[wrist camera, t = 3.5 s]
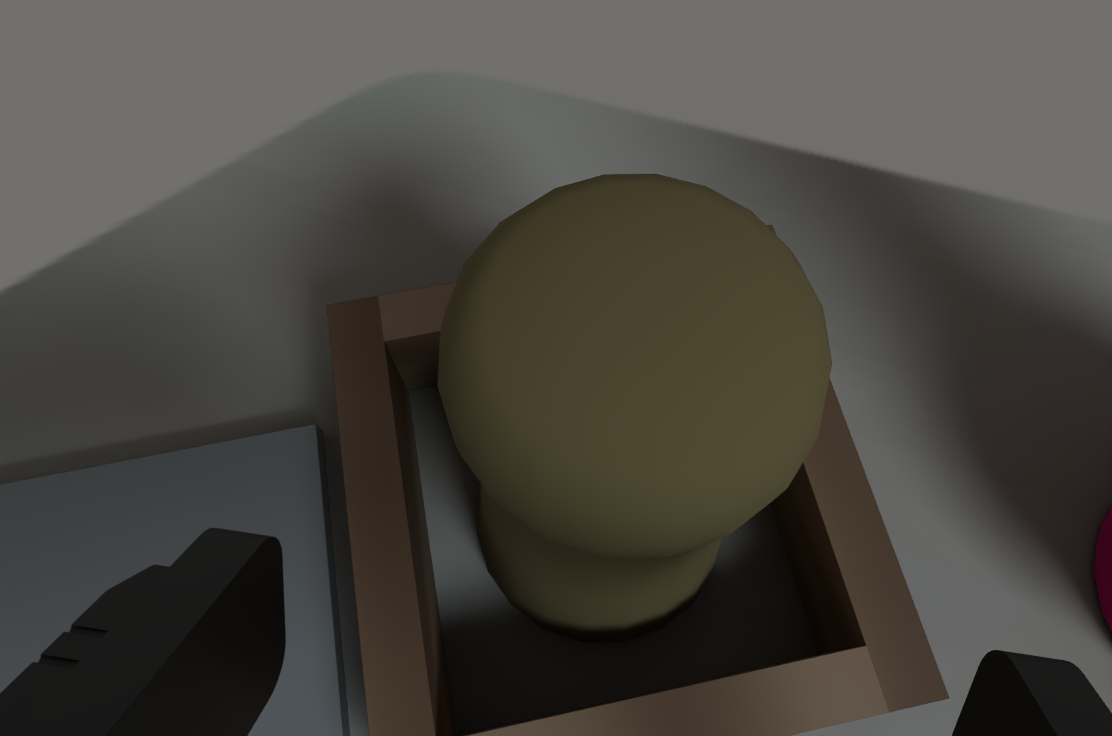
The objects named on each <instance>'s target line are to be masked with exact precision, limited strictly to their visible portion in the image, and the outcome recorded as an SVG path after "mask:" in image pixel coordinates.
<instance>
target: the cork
mask: <svg viewBox="0 0 1112 736" xmlns="http://www.w3.org/2000/svg"><path fill="white" fill-rule="evenodd" d="M831 366H832V360H831V353H830V347H829V341H828V335H827V329H826V323H825V317H824V311H823V307H822V305H821V303H820V301H819V300H818V298H817V296H816V294H815V292H814V290H813V288H812V286H811V285H810V283H809V281H808V279H807V277H806V275H805V273H804V271H803V270H802V268H801V266H800V264H799V262H798V260H797V258H796V257H795V256H794V254H793V253H792V252H791V250H790V249H789V248H788V247H787V246H786V245H785V244H784V243H783V242H782V241H781V240H780V239H779V238H778V237H777V236H776V235H775V234H774V233H773V232H772V231H771V230H770V229H769V228H768V227H767V226H766V225H765V224H764V223H763V222H762V221H761V220H760V219H759V218H758V217H757V216H756V215H755V214H754V213H753V212H752V211H750V210H748V209H746V208H744V207H743V206H741V205H739V204H737V203H735V202H734V201H732V200H730V199H728V198H726V197H724V196H723V195H721V194H719V193H717V192H715V191H714V190H712V189H710V188H708V187H706V186H702V185H698V184H694V183H690V182H686V181H682V180H678V179H674V178H670V177H666V176H662V175H658V174H612V175H601V176H597V177H594V178H590V179H587V180H583V181H580V182H576V183H573V184H569V185H565V186H562V187H558V188H555V189H553V190H552V191H550V192H548V193H547V194H545V195H544V196H542V197H540V198H539V199H537V200H536V201H534V202H532V203H531V204H529V205H527V206H526V207H524V208H523V209H521V210H519V211H518V212H516V213H514V214H513V215H511V216H510V217H508V218H507V219H505V220H503V221H502V222H500V223H499V225H498V226H497V227H496V228H495V229H494V230H493V231H492V233H491V234H490V235H489V236H488V237H487V238H486V239H485V241H484V242H483V243H482V244H481V245H480V246H479V247H478V249H477V250H476V251H475V252H474V253H473V254H472V255H471V257H470V258H469V259H468V260H467V261H466V262H465V264H464V267H463V269H462V271H461V274H460V276H459V279H458V281H457V283H456V286H455V288H454V291H453V293H452V295H451V298H450V300H449V303H448V305H447V307H446V310H445V312H444V317H443V321H442V325H441V330H440V348H439V367H438V385H437V386H438V389H439V392H440V396H441V399H442V402H443V406H444V409H445V412H446V416H447V419H448V422H449V426H450V429H451V433H452V436H453V439H454V442H455V444H456V447H457V449H458V451H459V453H460V455H461V456H462V458H463V459H464V460H465V462H466V463H467V465H468V466H469V467H470V469H471V470H472V472H473V473H474V474H475V476H476V477H477V479H478V480H479V481H480V488H479V496H478V528H477V535H478V538H479V541H480V545H481V548H482V551H483V555H484V558H485V562H486V565H487V568H488V572H489V573H490V575H491V576H492V577H493V579H494V580H495V582H496V583H497V585H498V586H499V588H500V589H501V590H502V592H503V593H504V595H505V596H506V598H507V599H508V601H509V602H510V603H511V605H513V606H514V607H515V608H517V609H518V610H519V611H521V612H522V613H523V614H525V615H526V616H527V617H529V618H530V619H531V620H533V621H534V622H535V623H537V624H538V625H539V626H541V627H542V628H543V629H546V630H549V631H552V632H555V633H558V634H561V635H564V636H567V637H570V638H573V639H576V640H579V641H582V642H608V641H626V640H629V639H632V638H634V637H637V636H640V635H643V634H645V633H648V632H651V631H654V630H657V629H659V628H662V627H663V626H664V625H666V624H667V623H668V622H669V621H671V620H672V619H673V618H674V617H675V616H677V615H678V614H679V613H680V612H682V611H683V610H684V609H685V608H687V607H688V606H689V605H690V604H691V603H693V601H694V600H695V598H696V596H697V595H698V593H699V592H700V590H701V588H702V587H703V585H704V583H705V582H706V580H707V579H708V577H709V575H710V574H711V572H712V571H713V569H714V565H715V562H716V558H717V555H718V551H719V548H720V544H721V541H722V538H725V537H728V536H729V535H730V534H732V533H733V532H734V531H735V530H737V529H738V528H739V527H740V526H742V525H743V524H744V523H745V522H747V521H748V520H749V519H750V518H752V517H753V516H754V515H755V514H757V513H758V512H759V511H760V510H762V509H763V508H764V507H765V506H767V505H768V504H769V503H770V502H772V501H773V500H774V499H775V498H777V497H778V496H779V495H780V494H781V493H782V492H784V491H785V490H786V489H787V488H788V486H789V485H790V483H791V481H792V480H793V478H794V476H795V475H796V473H797V471H798V470H799V468H800V466H801V465H802V463H803V462H804V460H805V458H806V457H807V455H808V453H809V452H810V450H811V448H812V447H813V445H814V443H815V442H816V440H817V438H818V435H819V430H820V425H821V420H822V414H823V409H824V404H825V398H826V393H827V388H828V382H829V377H830V371H831Z"/></svg>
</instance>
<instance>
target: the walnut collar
mask: <svg viewBox="0 0 1112 736" xmlns="http://www.w3.org/2000/svg"><path fill="white" fill-rule="evenodd" d="M767 227H768V228H769V229H770V230H771V231H772V232H773V233H774V234H775V231H774V228H773V226H772V225H768V226H767ZM775 235H776V234H775ZM456 283H457V282H452V283H446V284H441V285H435V286H430V287H424V288H419V289H413V290H407V291H402V292H396V293H391V294H385V295H380V296H374V297H369V298H363V299H358V300H352V301H346V302H341V303H335V304H330V305H327V314H328V324H329V335H330V345H331V355H332V365H333V375H334V385H335V395H336V405H337V415H338V425H339V435H340V445H341V455H342V465H343V475H344V485H345V495H346V505H347V515H348V525H349V535H350V545H351V555H352V565H353V575H354V585H355V595H356V605H357V616H358V626H359V636H360V646H361V656H362V666H363V676H364V686H365V696H366V706H367V716H368V726H369V736H456V732H455V724H454V717H453V710H452V703H451V696H450V689H449V682H448V674H447V667H446V660H445V653H444V646H443V639H442V631H441V624H440V617H439V610H438V603H437V596H436V588H435V581H434V574H433V567H432V560H431V553H430V546H429V538H428V531H427V524H426V517H425V510H424V503H423V495H422V488H421V481H420V474H419V467H418V460H417V452H416V445H415V438H414V431H413V424H412V417H411V410H410V402H409V395H408V390H411V389H416V388H421V387H426V386H432V385H437V384H438V367H439V348H440V330H441V325H442V321H443V317H444V312H445V310H446V307H447V305H448V303H449V300H450V298H451V295H452V293H453V291H454V288H455V286H456ZM770 503H771V507H772V510H773V513H774V516H775V519H776V522H777V525H778V528H779V532H780V535H781V538H782V541H783V544H784V547H785V550H786V553H787V557H788V560H789V563H790V566H791V569H792V572H793V575H794V578H795V582H796V585H797V588H798V591H799V594H800V597H801V600H802V604H803V607H804V610H805V613H806V616H807V619H808V622H809V625H810V629H811V632H812V635H813V638H814V641H815V644H816V647H817V650H818V654H819V655H814V656H810V657H805V658H801V659H796V660H792V661H788V662H783V663H779V664H774V665H770V666H765V667H761V668H757V669H752V670H748V671H743V672H739V673H734V674H730V675H725V676H721V677H717V678H712V679H708V680H703V681H699V682H694V683H690V684H685V685H681V686H677V687H672V688H668V689H663V690H659V691H654V692H650V693H646V694H641V695H637V696H632V697H628V698H623V699H619V700H614V701H610V702H606V703H601V704H597V705H592V706H588V707H583V708H579V709H574V710H570V711H566V712H561V713H557V714H552V715H548V716H543V717H539V718H534V719H530V720H526V721H521V722H517V723H512V724H508V725H503V726H499V727H495V728H490V729H486V730H481V731H477V732H472V733H468V734H463V735H459V736H789V735H794V734H798V733H802V732H807V731H811V730H815V729H820V728H824V727H828V726H832V725H837V724H841V723H845V722H850V721H854V720H858V719H863V718H867V717H871V716H875V715H880V714H884V713H888V712H893V711H897V710H901V709H905V708H910V707H914V706H918V705H923V704H927V703H931V702H936V701H940V700H944V699H948V698H949V696H948V693H947V690H946V688H945V685H944V682H943V680H942V677H941V674H940V672H939V669H938V666H937V664H936V661H935V658H934V656H933V653H932V650H931V648H930V645H929V642H928V640H927V637H926V634H925V632H924V629H923V626H922V624H921V621H920V618H919V616H918V613H917V610H916V608H915V605H914V602H913V600H912V597H911V594H910V592H909V589H908V586H907V584H906V581H905V578H904V576H903V573H902V570H901V568H900V565H899V562H898V560H897V557H896V554H895V552H894V549H893V546H892V544H891V541H890V538H889V536H888V533H887V530H886V528H885V525H884V522H883V520H882V517H881V514H880V512H879V509H878V506H877V503H876V501H875V498H874V495H873V493H872V490H871V487H870V485H869V482H868V479H867V477H866V474H865V471H864V469H863V466H862V463H861V461H860V458H859V455H858V453H857V450H856V447H855V445H854V442H853V439H852V437H851V434H850V431H849V429H848V426H847V423H846V421H845V418H844V415H843V413H842V410H841V407H840V405H839V402H838V399H837V397H836V394H835V391H834V389H833V386H832V383H831V381H830V378H829V382H828V388H827V393H826V398H825V404H824V409H823V414H822V420H821V425H820V430H819V435H818V438H817V440H816V442H815V443H814V445H813V447H812V448H811V450H810V452H809V453H808V455H807V457H806V458H805V460H804V462H803V463H802V465H801V466H800V468H799V470H798V471H797V473H796V475H795V476H794V478H793V480H792V481H791V483H790V485H789V486H788V488H787V489H786V490H785V491H784V492H782V493H781V494H780V495H779V496H778V497H777V498H775V499H774V500H773V501H772V502H770Z"/></svg>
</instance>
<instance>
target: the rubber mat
mask: <svg viewBox="0 0 1112 736" xmlns="http://www.w3.org/2000/svg"><path fill="white" fill-rule="evenodd" d="M209 528H221V529H227V530H234V531H240V532H247V533H253V534H260V535H266V536H273V537H276V538H277V539H278V540H279V542H280V544H281V548H282V555H283V579H284V605H285V630H286V647H285V655H284V661H283V665H282V669H281V673H280V676H279V679H278V682H277V684H276V687H275V689H274V691H273V693H272V695H271V697H270V699H269V701H268V702H267V704H266V706H265V707H264V709H263V711H262V712H261V714H260V716H259V717H258V719H257V721H256V722H255V724H254V726H253V727H252V729H251V731H250V732H249V734H248V736H350V731H349V720H348V709H347V698H346V687H345V676H344V665H343V654H342V643H341V632H340V621H339V610H338V599H337V587H336V576H335V565H334V554H333V543H332V532H331V521H330V510H329V499H328V488H327V477H326V466H325V455H324V444H323V433H322V431H321V430H320V428H319V427H318V426H317V425H316V424H313V425H308V426H303V427H298V428H292V429H287V430H282V431H277V432H272V433H266V434H261V435H256V436H251V437H245V438H240V439H235V440H230V441H225V442H219V443H214V444H209V445H204V446H199V447H193V448H188V449H183V450H178V451H172V452H167V453H162V454H157V455H152V456H146V457H141V458H136V459H131V460H126V461H120V462H115V463H110V464H105V465H99V466H94V467H89V468H84V469H79V470H73V471H68V472H63V473H58V474H52V475H47V476H42V477H37V478H32V479H26V480H21V481H16V482H11V483H6V484H0V693H1V692H2V691H3V690H4V689H5V688H6V687H7V686H8V685H9V684H10V683H11V682H12V681H13V680H15V679H16V678H17V677H18V676H19V675H20V674H21V673H22V672H23V671H24V670H25V669H26V668H27V667H28V666H29V665H30V664H31V663H32V662H38V661H39V660H40V657H41V653H42V652H43V651H45V650H46V649H47V648H48V647H49V646H50V645H51V644H52V643H53V642H54V641H55V640H56V639H57V638H58V637H59V636H60V635H61V634H62V633H63V632H69V631H70V629H71V624H72V623H73V622H74V621H76V620H77V619H78V618H79V617H80V616H81V615H82V614H83V613H84V612H85V611H86V610H87V609H88V608H89V607H90V606H91V605H92V604H93V603H94V602H95V601H96V600H97V599H98V598H99V597H100V596H101V595H102V594H103V593H104V592H105V591H107V590H108V589H110V588H112V587H114V586H115V585H117V584H119V583H121V582H123V581H124V580H126V579H128V578H130V577H132V576H134V575H135V574H137V573H139V572H141V571H143V570H144V569H146V568H148V567H150V566H152V565H154V564H155V565H162V566H168V567H170V566H171V565H172V564H173V563H174V562H175V561H176V560H177V559H178V558H179V557H180V555H181V554H182V553H183V552H184V551H185V550H186V549H187V548H188V547H189V546H190V545H191V544H192V543H193V542H194V541H195V540H196V539H197V538H198V537H199V536H200V535H201V534H202V533H203V532H204V531H205V530H207V529H209Z"/></svg>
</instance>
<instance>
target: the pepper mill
mask: <svg viewBox="0 0 1112 736" xmlns="http://www.w3.org/2000/svg"><path fill="white" fill-rule="evenodd" d="M1094 574H1095V579H1096V584H1097V589H1098V594H1099V599H1100V604H1101V609H1102V613H1103V615H1104V617H1105V619H1106V622H1107V624H1108V626H1109V628H1110V630H1111V632H1112V507H1111V509H1110V511H1109V512H1108V514H1107V516H1106V518H1105V520H1104V522H1103V523H1102V525H1101V528H1100V531H1099V535H1098V540H1097V544H1096V551H1095V562H1094Z"/></svg>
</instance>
